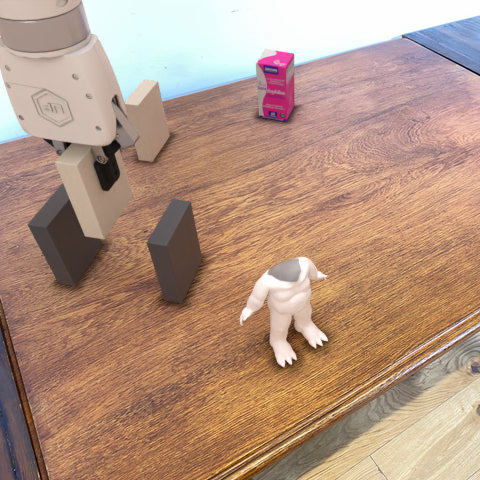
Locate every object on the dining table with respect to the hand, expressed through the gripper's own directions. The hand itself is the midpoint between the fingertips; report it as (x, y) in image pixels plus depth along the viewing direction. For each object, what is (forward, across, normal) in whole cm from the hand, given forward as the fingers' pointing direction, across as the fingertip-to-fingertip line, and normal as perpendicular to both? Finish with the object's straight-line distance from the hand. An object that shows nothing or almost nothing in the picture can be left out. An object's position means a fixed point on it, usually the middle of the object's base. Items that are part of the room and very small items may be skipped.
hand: (98, 180), depth 60 cm
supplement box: (+16, +11, +44) cm, 48 cm away
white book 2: (+16, -8, +28) cm, 33 cm away
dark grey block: (+16, -7, 0) cm, 17 cm away
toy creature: (+16, +25, -7) cm, 30 cm away
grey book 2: (+16, +8, 0) cm, 18 cm away
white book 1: (+6, 0, 0) cm, 6 cm away
